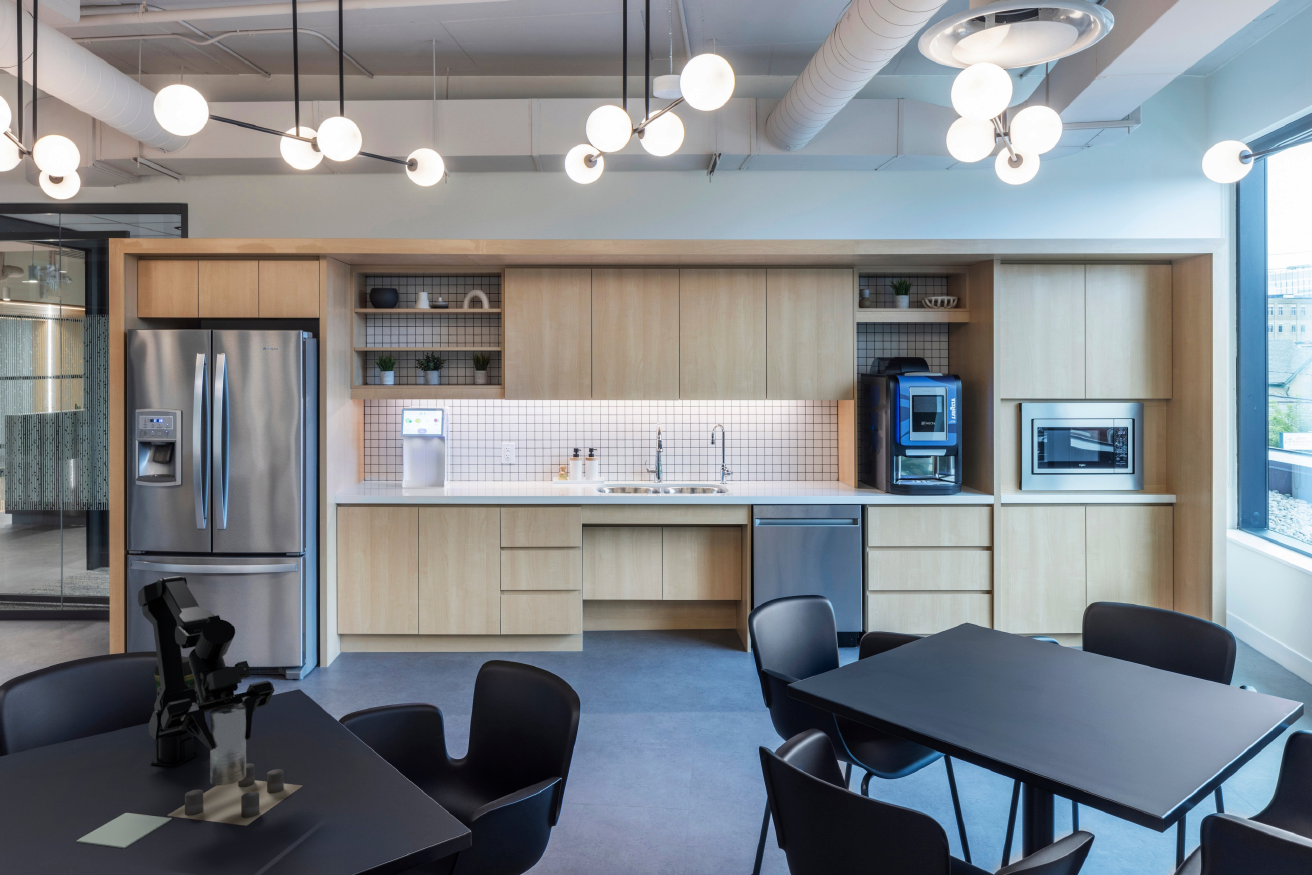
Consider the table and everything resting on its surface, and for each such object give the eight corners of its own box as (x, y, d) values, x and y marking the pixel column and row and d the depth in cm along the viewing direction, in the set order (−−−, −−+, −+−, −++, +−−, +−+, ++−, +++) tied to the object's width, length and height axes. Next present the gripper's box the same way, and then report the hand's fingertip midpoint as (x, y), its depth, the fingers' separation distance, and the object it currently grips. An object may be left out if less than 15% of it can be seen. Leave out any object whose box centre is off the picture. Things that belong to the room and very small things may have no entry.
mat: (166, 818, 146) (166, 796, 146) (229, 780, 161) (229, 760, 161) (246, 828, 142) (246, 806, 142) (303, 788, 158) (303, 768, 158)
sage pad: (76, 844, 137) (76, 840, 136) (125, 816, 146) (125, 812, 146) (124, 851, 135) (124, 846, 134) (171, 822, 144) (171, 818, 144)
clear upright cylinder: (202, 783, 146) (202, 714, 146) (226, 769, 152) (226, 703, 152) (230, 786, 145) (230, 717, 145) (253, 772, 151) (253, 705, 151)
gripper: (165, 660, 144) (185, 736, 137) (270, 640, 158) (294, 708, 151) (152, 692, 149) (171, 767, 142) (255, 670, 163) (277, 737, 156)
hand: (230, 743), depth 148 cm, fingers closed on clear upright cylinder, 6 cm apart
